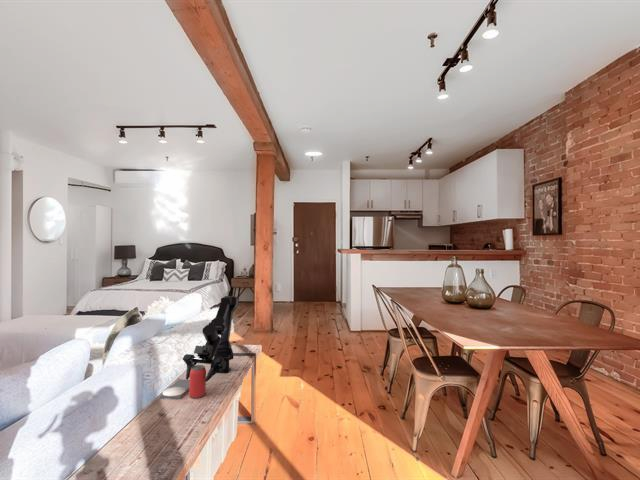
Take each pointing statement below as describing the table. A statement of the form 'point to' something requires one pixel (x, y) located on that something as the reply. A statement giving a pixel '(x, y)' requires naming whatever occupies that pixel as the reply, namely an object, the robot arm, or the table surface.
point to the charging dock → (176, 390)
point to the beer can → (197, 381)
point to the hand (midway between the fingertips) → (196, 380)
